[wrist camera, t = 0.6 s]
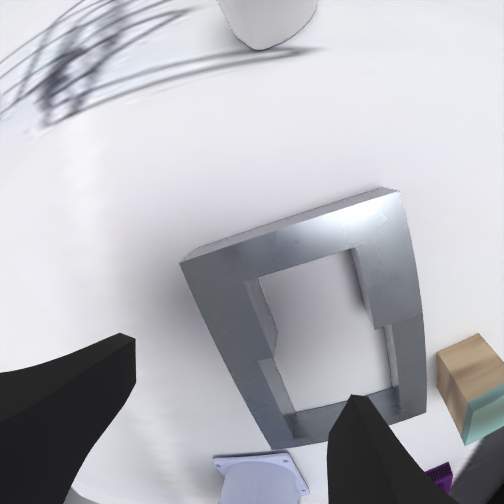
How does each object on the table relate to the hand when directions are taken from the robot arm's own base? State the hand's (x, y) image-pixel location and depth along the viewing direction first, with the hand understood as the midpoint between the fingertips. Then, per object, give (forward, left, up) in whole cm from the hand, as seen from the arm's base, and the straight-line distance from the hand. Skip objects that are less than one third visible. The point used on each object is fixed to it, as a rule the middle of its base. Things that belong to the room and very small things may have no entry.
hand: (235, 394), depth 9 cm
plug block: (-12, -12, -10) cm, 20 cm away
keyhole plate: (-5, -2, -10) cm, 12 cm away
